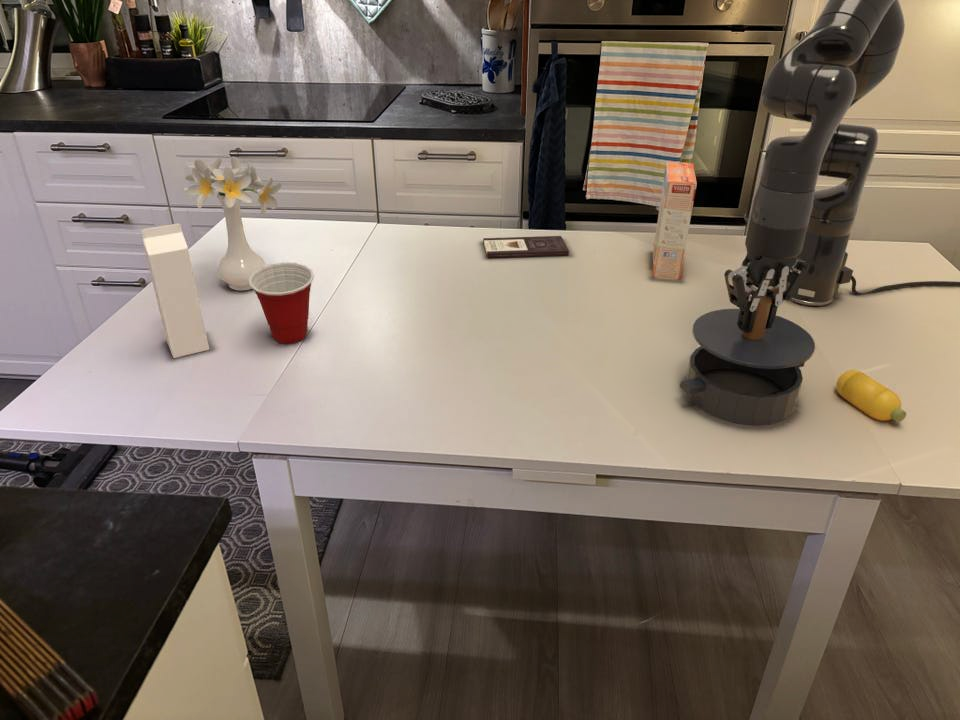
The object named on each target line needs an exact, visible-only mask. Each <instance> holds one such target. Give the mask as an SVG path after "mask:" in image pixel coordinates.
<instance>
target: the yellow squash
mask: <svg viewBox="0 0 960 720" xmlns="http://www.w3.org/2000/svg"><path fill="white" fill-rule="evenodd" d="M835 386H836V390H837V392H838V394H839V396H841V397H842V399H844V400H845V401H847V402H849V404H851V405H853V406H854V407H856V408H857V409H858V410H860V411H861V412H863V413H864V414H866V415H867V416H869V417H870V418H873V420H877V421H882V422H883V421H884V422H886V421H890V420H894V421H895V422H897V423H901V422H902V421H903V420H905V419H906V417H907V412H906V411H905V410H904V409H902V401H901V399H900V396H899V395H898V394H897V393H896V392H894V391H893V390H892V389H891V388H889V387H887V386H886V385H884V384H882V383H881V382H879V381H877V380H876V379H874V377H873V378H872V377H871V376H869V375H868V374H867V373H865V372H863V371H861V370H857V369H849V370H846V371H844V372H843V373H841V374H840V375H839V376H838V378H837V381H836V385H835Z"/></svg>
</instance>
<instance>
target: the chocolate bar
mask: <svg viewBox="0 0 960 720" xmlns="http://www.w3.org/2000/svg"><path fill="white" fill-rule="evenodd" d="M482 242H483V246H484V250H485V253H486V257H487V259H494V258H495V259H496V258H497V259H498V258H521V257H522V258H523V257H524V258H525V257H547V256H548V257H552V256H553V257H554V256H555V257H556V256H569V255H570V251H569V248H568V247H567V245H566V243H565V241H564V239H563V237H562V236H561V235H544V236H516V237H514V236H511V237H484V238H482Z"/></svg>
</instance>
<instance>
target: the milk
mask: <svg viewBox="0 0 960 720" xmlns="http://www.w3.org/2000/svg"><path fill="white" fill-rule="evenodd" d="M140 232H141V237H142V246H143V250H144V254H145V259H146V263H147V266H148V270H149V274H150V278H151V282H152V286H153V290H154V294H155V298H156V302H157V307H158V311H159V315H160V319H161V323H162V327H163V331H164V334H165V340H166V343H167V345H168V348H169V351H170V353H171V355H172V358H174V359H176V358H180V357H184V356H188V355H194V354H198V353H200V352H206V351H209V350H210V346H209V341H208V337H207V332H206V326H205V321H204V317H203V312H202V307H201V304H200V299H199V294H198V290H197V284H196V279H195V276H194V270H193V266H192V261H191V256H190V251H189V247H188V245H187V241H186V239H185V235H184V233H183V229H182V225H181V223H173V224H167V225H160V226H155V227H148V228H143V229H141V231H140Z"/></svg>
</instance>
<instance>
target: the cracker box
mask: <svg viewBox="0 0 960 720" xmlns="http://www.w3.org/2000/svg"><path fill="white" fill-rule="evenodd" d="M697 184H698V183H697V177H696V173H695V165H694V163H691V162H680V161H666V163H665V169H664V175H663V181H662V187H661V195H660V202H659V209H658V216H657V222H656V228H655V236H654V242H653V247H652V248H653V249H652V277H653V278H657V279H668V280H681V275H682V272H683V271H682V270H683V264H684V260H685V259H684V258H685V254H686V247H687V242H688V235H689V231H690V230H689V229H690V225H691V218H692V213H693V209H694V208H693V206H694V201H695V197H696V191H697V187H698V186H697Z"/></svg>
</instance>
